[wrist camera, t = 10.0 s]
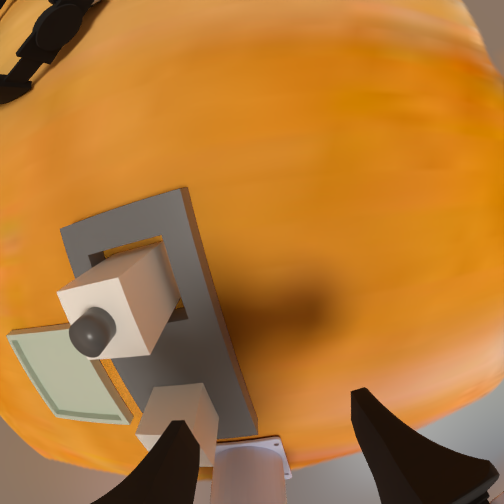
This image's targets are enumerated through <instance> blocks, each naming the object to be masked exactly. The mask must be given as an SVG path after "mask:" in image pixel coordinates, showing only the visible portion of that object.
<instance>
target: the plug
mask: <svg viewBox="0 0 504 504" xmlns="http://www.w3.org/2000/svg"><path fill="white" fill-rule="evenodd" d="M57 294H58V297H59V299H60V302H61V304H62V307H63V309H64V311H65V314H66V316H67V318H68V320H69V323H70V325H71V326H70V328H69V337H70V340H71V342H72V344H73V346H74V347H75V348H76V349H77V350H78V351H79V352H80V353H81V354H83V355H85V356H86V357H87V359H88V360H95V359H111V358H124V357H135V356H145V355H150V354H151V352H152V350H153V348H154V346H155V344H156V343H157V341H158V339H159V337H160V335H161V333H162V331H163V329H164V327H165V325H166V323H167V322H168V320H169V318H170V316H171V314H172V312H173V310H174V308H175V307H176V305H177V303H178V301H179V299H180V297H181V295H180V292H179V289H178V286H177V283H176V280H175V277H174V274H173V271H172V268H171V264H170V261H169V258H168V255H167V251H166V248H165V245H164V241H162V242H158V243H154V244H150V245H146V246H142V247H138V248H135V249H131V250H127V251H123V252H120V253H116V254H113V255H111V256H110V257H108V258H107V259H105V260H103V261H102V262H100V263H99V264H97V265H96V266H94V267H93V268H91V269H90V270H88V271H87V272H85V273H83V274H82V275H80V276H79V277H77V278H76V279H75V280H73V281H72V282H70V283H69V284H67V285H66V286H64V287H63V288H61V289H60V290H58V291H57Z"/></svg>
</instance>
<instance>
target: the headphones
mask: <svg viewBox="0 0 504 504" xmlns="http://www.w3.org/2000/svg"><path fill="white" fill-rule="evenodd" d="M48 1H49V2H50V3H51V4H53V5H52V6H51V7H49V8H48V9H46V10H45V11H44V12H43V13H42V14H41V15H40V16H39V18H38V19H37V21H36V23H35V25H34V27H33V31H32V33H31V34H30V36H29V37H28V38H27V39H26V40H25V42H24V43H23V44H22V45H21V47H20V48H19V49H18V51H17V52H16V56H17V57H22V58H21V59H20V60H19V61H18V63H17V64H16V65H15V66H14V68H13V69H12V70H11V71H10V73H9V74H8V75H2V74H0V104H4V103H7V102H10V101H12V100H14V99H16V98H17V97H19V96H21V95H22V94H24V93H25V92H27V91H28V90H29V89H31V84H32V81H28V80H29V79H30V78H31V77H32V75H33V74H34V73H35V72H36V71H37V69H38V68H39V67H40V66H41V65H42V63H47V64H51V63H52V61H53V60H54V58H55V57H56V55H57V54H58V52H59V51H60V50H61V48H62V47H63V46H64V45H65V44H66V43H68V42H69V41H70V40H71V39H72V38H73V37H74V36H75V34H76V33H77V32H78V30H79V28H80V26H81V23H82V19H83V16H84V15H85V13H86V12H87V11H88V9H89V8H90V7H92V6H94V5H95V4H97V3H99V2H100V1H101V0H48ZM5 2H6V0H0V9H1V8H2V6H3V5H4V3H5Z"/></svg>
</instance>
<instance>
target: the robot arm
mask: <svg viewBox="0 0 504 504" xmlns="http://www.w3.org/2000/svg"><path fill="white" fill-rule="evenodd" d="M351 421H352V424H353V428H354V431H355V434H356V438H357V440H358V443H359V445H360V447H361V450H362V452H363V454H364V456H365V458H366V461H367V463H368V465H369V468H370V470H371V472H372V474H373V477H374V480H375V482H376V485H377V488H378V492H379V496H380V500H381V504H504V491H503V492H502V493H501V494H500V495H498V496H497V497H496V498H494V499H493V500H492V501H491V502H490V503H489V501H488V500H487V498H489V494H488V492H487V490H488V489H489V488H490V487H491V486H492V485H493V484H494V483H495V482H496V481H497V479H498V478H499V473H498V471H497V470H496V468H495V467H494V466H493V465H492V463H491V462H490V461H488V460H483V459H478V458H474V457H471V456H467V455H464V454H461V453H458V452H455V451H453V450H450V449H448V448H446V447H443V446H441V445H439V444H437V443H435V442H433V441H431V440H429V439H427V438H426V437H424V436H422V435H421V434H419V433H418V432H416V431H415V430H413V429H412V428H410V427H409V426H407V425H406V424H405V423H403V422H402V421H401V420H400V419H398V418H397V417H396V416H395V415H394V414H392V413H391V412H390V411H389V410H388V409H387V408H386V407H385V406H383V405H382V404H381V403H380V402H379V401H378V400H377V399H376V398H375V397H374V396H373V395H372V394H371V392H370V391H369V390H368V389H367V388H365V387H364V388H360V389H357V390H354V391H351ZM199 465H200V445H199V443H198V441H197V440H196V438H195V437H194V435H193V434H192V432H191V430H190V429H189V427H188V425H187V424H186V422H185V420H172V421H171V422H170V424H169V425H168V427H167V428H166V429H165V431H164V432H163V434H162V435H161V436H160V438H159V439H158V441H157V442H156V443H155V445H154V446H153V447H152V449H151V450H150V451H149V453H148V454H147V455H146V456H145V458H144V459H143V460H142V461H141V462H140V464H139V465H138V466H137V467H136V468H135V469H134V470H133V471H132V472H131V473H130V474H129V475H128V476H127V477H126V478H125V479H124V480H123V481H122V482H121V483H120V484H119V485H117V486H116V487H115V488H113V489H112V490H111V491H109V492H108V493H107V494H105V495H104V496H102V497H101V498H99V499H98V500H96V501H94V502H92V503H91V504H193V501H194V495H195V489H196V483H197V477H198V471H199ZM290 478H292V473H291V470H290V467H289V464H288V461H287V458H286V454H285V451H284V448H283V445H282V441H281V438H280V437H269V438H263V439H256V440H248V441H239V442H229V443H216V450H215V460H214V467H213V476H212V486H211V496H210V504H287V497H286V487H285V479H290Z"/></svg>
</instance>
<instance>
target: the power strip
mask: <svg viewBox="0 0 504 504" xmlns="http://www.w3.org/2000/svg"><path fill="white" fill-rule="evenodd" d="M60 232H61V235H62V239H63V242H64V245H65V249H66V252H67V255H68V258H69V261H70V264H71V267H72V270H73V273H74V276H75V278H77V277H79V276H80V275H82V274H83V273H85V272H87V271H88V270H90V269H91V268H93V267H94V266H96V265H97V264H99V263H100V262H102V261H103V260H105V256H104V253H103V251H104V250H108V249H111V248H115V247H118V246H122V245H126V244H129V243H133V242H136V241H140V240H144V239H147V238H151V237H155V236H159V235H162V238H163V241H164V245H165V248H166V251H167V255H168V258H169V261H170V264H171V268H172V271H173V274H174V277H175V280H176V283H177V286H178V289H179V292H180V295H181V298H182V301H183V304H184V308H179V309H174V310H173V312H172V314H171V316H170V318H169V320H168V322H167V323H166V325H165V327H164V329H163V331H162V333H161V335H160V337H159V339H158V341H157V343H156V344H155V346H154V348H153V350H152V352H151V354H150V355H145V356H135V357H124V358H111V360H112V362H113V364H114V366H115V368H116V369H117V371H118V373H119V375H120V377H121V378H122V380H123V382H124V384H125V385H126V387H127V389H128V390H129V392H130V394H131V395H132V397H133V399H134V400H135V402H136V404H137V405H138V407H139V408H140V410H141V411H142V413H143V415H142V418H141V420H140V423H139V426H138V428H137V431H136V433H135V435H136V436H137V437H138V439H139V440H140V441H141V443H142V444H143V445H144V446H145V448H146V449H147V450H148V451H150V450H151V449H152V447H153V446H154V445H155V443H156V442H157V441H158V439H159V438H160V436H161V435H162V434H163V432H164V431H165V429H166V428H167V427H168V425H169V424H170V422H171V421H172V420H185V422H186V424H187V425H188V427H189V429H190V430H191V432H192V434H193V435H194V437H195V438H196V440H197V441H198V443H199V445H200V465H199V467H214V460H215V450H216V441H217V439H225V438H235V437H244V436H252V435H258V419H257V416H256V413H255V410H254V407H253V405H252V402H251V399H250V396H249V393H248V390H247V387H246V385H245V382H244V379H243V376H242V373H241V370H240V367H239V364H238V361H237V358H236V355H235V352H234V349H233V345H232V342H231V339H230V336H229V333H228V330H227V327H226V323H225V320H224V317H223V314H222V310H221V307H220V304H219V300H218V297H217V294H216V290H215V287H214V284H213V280H212V277H211V273H210V270H209V266H208V263H207V259H206V255H205V252H204V248H203V245H202V241H201V237H200V234H199V230H198V226H197V222H196V218H195V215H194V211H193V207H192V203H191V199H190V195H189V191H188V187H186V188H180V189H177V190H173V191H170V192H166V193H163V194H159V195H156V196H153V197H150V198H146V199H143V200H140V201H137V202H134V203H131V204H128V205H125V206H122V207H119V208H116V209H113V210H110V211H107V212H104V213H101V214H98V215H95V216H93V217H90V218H87V219H85V220H82V221H79V222H76V223H74V224H71V225H69V226H66V227H64V228H61V229H60Z"/></svg>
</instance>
